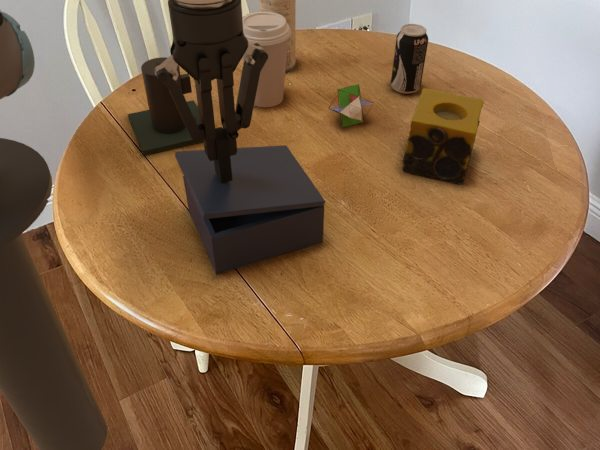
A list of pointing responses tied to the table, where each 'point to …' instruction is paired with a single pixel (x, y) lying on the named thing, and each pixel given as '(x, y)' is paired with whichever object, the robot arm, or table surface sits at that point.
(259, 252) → the chest
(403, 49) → the beverage can
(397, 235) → the table surface
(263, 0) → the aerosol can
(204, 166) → the chest lid
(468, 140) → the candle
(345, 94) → the geometric puzzle
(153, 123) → the brown mug
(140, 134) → the trivet
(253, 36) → the coffee cup
